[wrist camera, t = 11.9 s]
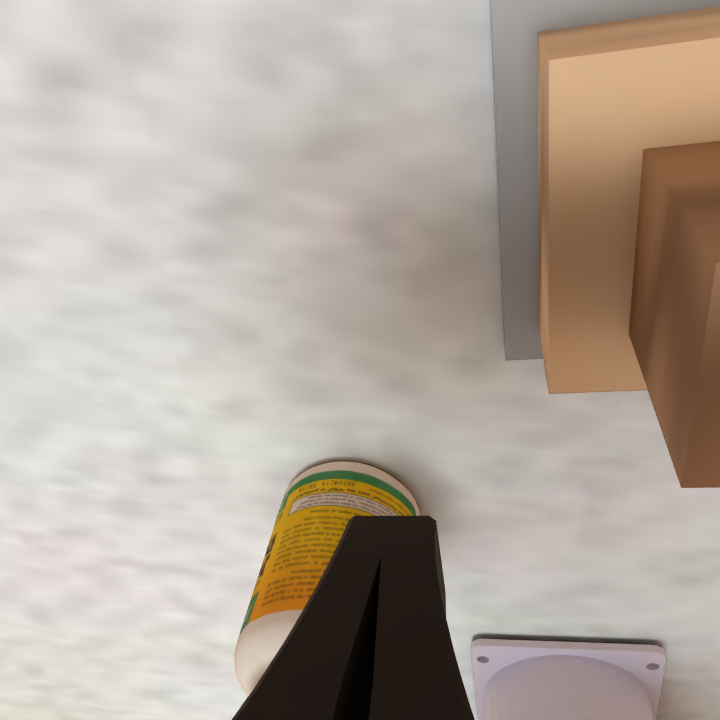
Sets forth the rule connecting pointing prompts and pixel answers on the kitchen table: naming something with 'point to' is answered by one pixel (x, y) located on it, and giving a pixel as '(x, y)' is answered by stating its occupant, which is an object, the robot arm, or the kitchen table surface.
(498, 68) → the baseplate
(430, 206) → the kitchen table surface
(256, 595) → the supplement bottle
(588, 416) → the kitchen table surface
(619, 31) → the oak brick
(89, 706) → the kitchen table surface
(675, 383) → the walnut block
